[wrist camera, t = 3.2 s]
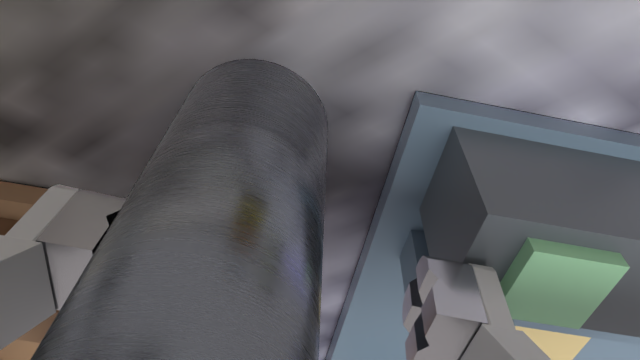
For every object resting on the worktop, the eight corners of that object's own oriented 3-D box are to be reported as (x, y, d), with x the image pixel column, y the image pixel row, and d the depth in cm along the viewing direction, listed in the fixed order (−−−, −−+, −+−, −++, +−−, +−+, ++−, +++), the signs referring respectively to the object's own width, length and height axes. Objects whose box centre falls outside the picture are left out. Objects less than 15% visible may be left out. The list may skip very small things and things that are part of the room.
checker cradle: (317, 382, 20) (312, 506, 17) (416, 91, 12) (449, 202, 8) (576, 419, 21) (628, 543, 18) (826, 170, 13) (1021, 303, 9)
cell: (183, 172, 14) (-8, 576, 6) (186, 45, 12) (-107, 434, 4) (313, 195, 14) (283, 604, 7) (341, 75, 12) (344, 488, 4)
